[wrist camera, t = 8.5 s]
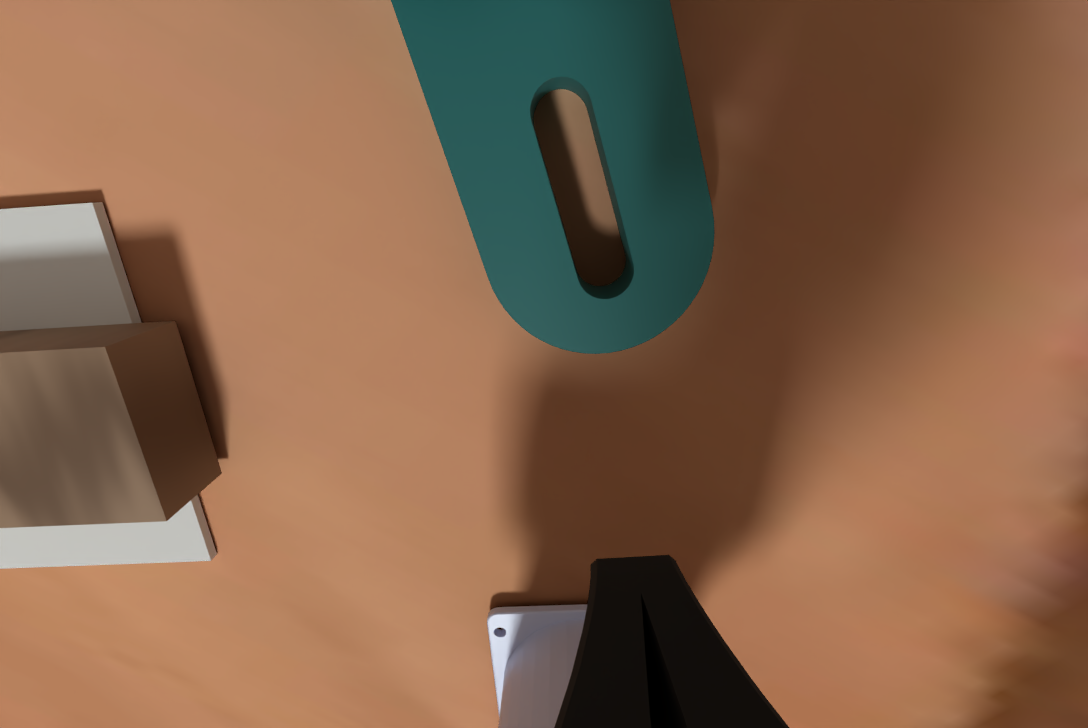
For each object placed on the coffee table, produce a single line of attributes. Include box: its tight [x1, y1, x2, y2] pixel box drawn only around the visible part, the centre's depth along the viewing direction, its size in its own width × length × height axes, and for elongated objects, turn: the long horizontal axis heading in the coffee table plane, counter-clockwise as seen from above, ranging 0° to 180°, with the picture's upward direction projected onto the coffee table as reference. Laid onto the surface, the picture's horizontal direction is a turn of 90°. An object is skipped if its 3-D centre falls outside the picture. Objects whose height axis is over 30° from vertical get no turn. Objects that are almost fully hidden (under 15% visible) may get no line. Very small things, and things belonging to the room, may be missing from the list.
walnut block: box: [0, 321, 222, 528], centre depth 18 cm, size 6×3×10 cm
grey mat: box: [0, 202, 217, 569], centre depth 20 cm, size 14×12×1 cm
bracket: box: [391, 0, 714, 354], centre depth 12 cm, size 18×7×8 cm, turn 18°
